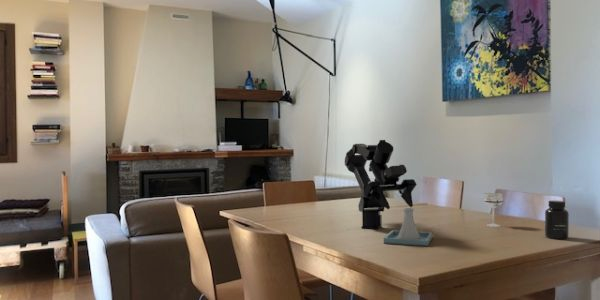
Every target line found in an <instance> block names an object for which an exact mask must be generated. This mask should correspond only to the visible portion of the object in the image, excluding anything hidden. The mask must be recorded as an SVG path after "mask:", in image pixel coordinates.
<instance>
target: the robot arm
mask: <svg viewBox="0 0 600 300" xmlns="http://www.w3.org/2000/svg"><path fill="white" fill-rule="evenodd" d="M393 152H394V146H393V144H391V143H390V142H387V141H386V139H380V140H379V141H378V143H377V144H366V143H354V144H352V146H351V148H350V149H349V150H348V151H347V152H345V157H344V166H346V169H347V171H349V172H350V173H353V174H354V176H355V179H356V181H357V184H358V185H359V187H360V191H361V192H362V193H361V197H360V200H359V203H358V211H359V212H361V214H362V217H361V218H362V220H361V221H362V226H361V227H360V228H361V229H374V230H378V229H380V228H381V227H382V226H383V221H382V219H383V216H382V214H381V212H384V211H385V209H387V210H390V209H391V208H390V204H389V202H388V200H387V198H386V196H385V193H384V192H394V191H398V192H399V194H400V197H401V198H402V199H403V201H404V202H405V203H406V204H407V206H409V207H410V208H412V207H413V205H414V204H413V197H412V192H413V191H414V189H415V188H416V186H417V185H418V184H417V182H416V181H415V179H412V178H410V179H408V178H407V179H403V180H402V182H401V183H398V182H399V181H400V177H402V176H404V175H405V174H406V173H407V172H408V170H407V167H406V166H405V164H399V165H390V166H388V163H390V160H391V157H392V155H393ZM367 161H370V162H369V165H368V172H372V174H373V177H374V180H372V181H371V179H370V176H369V174H368V172H367V170H366V168H365V167H366V164H367Z"/></svg>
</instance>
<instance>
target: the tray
mask: <svg viewBox="0 0 600 300" xmlns="http://www.w3.org/2000/svg"><path fill="white" fill-rule="evenodd" d="M399 232H400V230H394V229H392V230H391V231H389V233H388V234H386V235H385V236H384V237H383V244H384V245H385V244H386V245H387V244H388V245H398V246H399V245H402V246H412V247H413V246H414V247H429V245H430V243H431V241H432V240H433V232H429V231H418V233H419V235H420V239H419V240H418V239H401V238H398V235H399Z"/></svg>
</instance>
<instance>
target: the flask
mask: <svg viewBox="0 0 600 300" xmlns="http://www.w3.org/2000/svg"><path fill="white" fill-rule="evenodd" d="M403 213H404V214H403V215H404V216H403V220H402V224H401V227H400V229H399V231H400V232H399V235H398V238H401V239H418V240H419V239H420V235H419V233H418V232H419V230H418V228H417V226H416V222H415V219H414V214H413V213H414V208H412V207H410V208H408V207H406V208H403Z"/></svg>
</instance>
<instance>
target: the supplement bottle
mask: <svg viewBox="0 0 600 300" xmlns="http://www.w3.org/2000/svg"><path fill="white" fill-rule="evenodd" d="M547 206H548V208H547V209H545V212H544V236H545V237H546V238H547V239H553V240H568V238H569V233H570V232H569V227H570V222H569V221H570V220H569V219H570V217H569V216H570V214H569V211H568V210H567V209H566V201H565V200H564V201H563V200H548V205H547Z"/></svg>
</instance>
